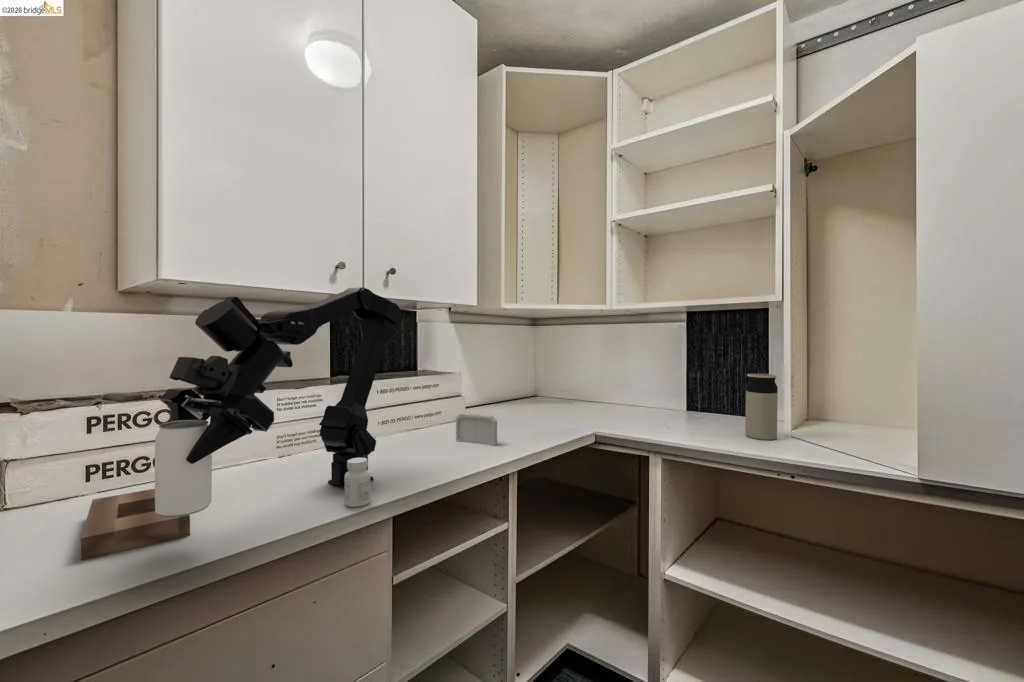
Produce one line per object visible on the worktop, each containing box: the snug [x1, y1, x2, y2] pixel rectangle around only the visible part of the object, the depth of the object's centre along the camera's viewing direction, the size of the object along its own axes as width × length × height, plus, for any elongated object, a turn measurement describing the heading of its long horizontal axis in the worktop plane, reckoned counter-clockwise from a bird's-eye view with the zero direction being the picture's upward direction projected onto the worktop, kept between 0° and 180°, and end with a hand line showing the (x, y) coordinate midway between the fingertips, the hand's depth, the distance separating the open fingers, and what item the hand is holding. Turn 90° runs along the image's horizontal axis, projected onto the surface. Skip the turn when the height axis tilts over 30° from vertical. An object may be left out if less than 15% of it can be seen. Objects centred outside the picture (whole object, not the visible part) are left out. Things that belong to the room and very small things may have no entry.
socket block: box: [80, 488, 191, 561], centre depth 72 cm, size 12×18×3 cm, turn 39°
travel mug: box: [744, 373, 779, 441], centre depth 130 cm, size 8×8×18 cm
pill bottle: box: [344, 458, 372, 508], centre depth 81 cm, size 4×4×8 cm
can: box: [154, 420, 213, 517], centre depth 64 cm, size 6×6×12 cm
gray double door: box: [455, 412, 498, 447], centre depth 124 cm, size 2×12×8 cm, turn 65°
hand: (174, 459), depth 62 cm, fingers closed on can, 6 cm apart
